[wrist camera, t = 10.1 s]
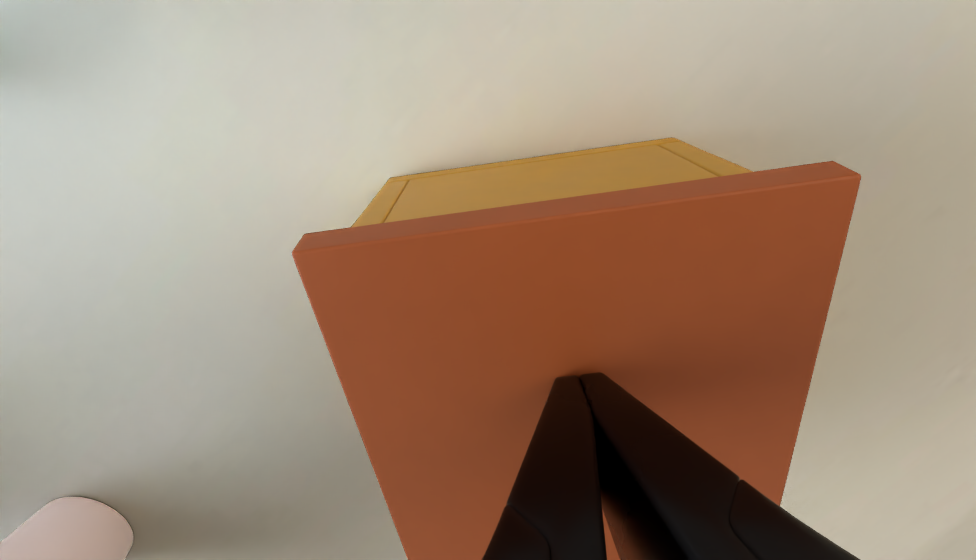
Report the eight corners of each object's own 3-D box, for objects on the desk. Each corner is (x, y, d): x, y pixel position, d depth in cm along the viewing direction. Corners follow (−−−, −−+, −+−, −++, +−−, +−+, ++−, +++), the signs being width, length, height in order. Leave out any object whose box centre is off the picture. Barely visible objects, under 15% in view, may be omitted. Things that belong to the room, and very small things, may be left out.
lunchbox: (388, 177, 15) (337, 241, 10) (674, 136, 15) (779, 181, 9) (450, 458, 19) (437, 606, 14) (671, 433, 19) (742, 576, 14)
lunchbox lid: (302, 232, 8) (289, 252, 8) (833, 159, 8) (863, 174, 7) (437, 607, 14) (435, 635, 13) (743, 577, 14) (756, 604, 13)
